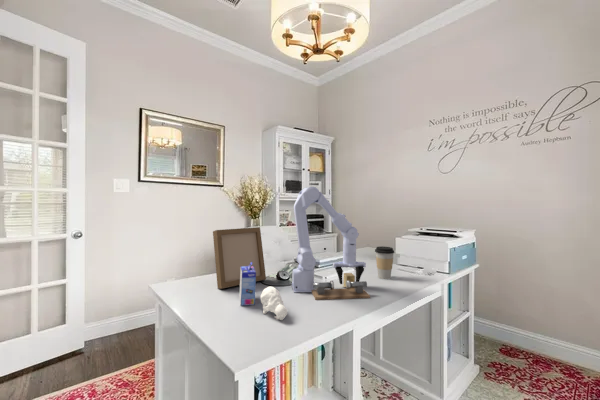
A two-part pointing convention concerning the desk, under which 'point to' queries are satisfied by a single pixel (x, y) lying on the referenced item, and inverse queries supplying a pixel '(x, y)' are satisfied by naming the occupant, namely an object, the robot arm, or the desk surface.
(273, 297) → the white sculpted piece
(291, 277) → the metal bracket
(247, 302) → the ink cartridge box
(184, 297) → the desk surface
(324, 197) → the robot arm
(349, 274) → the block
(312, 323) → the desk surface
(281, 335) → the desk surface
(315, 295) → the stand
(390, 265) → the coffee cup
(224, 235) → the photo frame
